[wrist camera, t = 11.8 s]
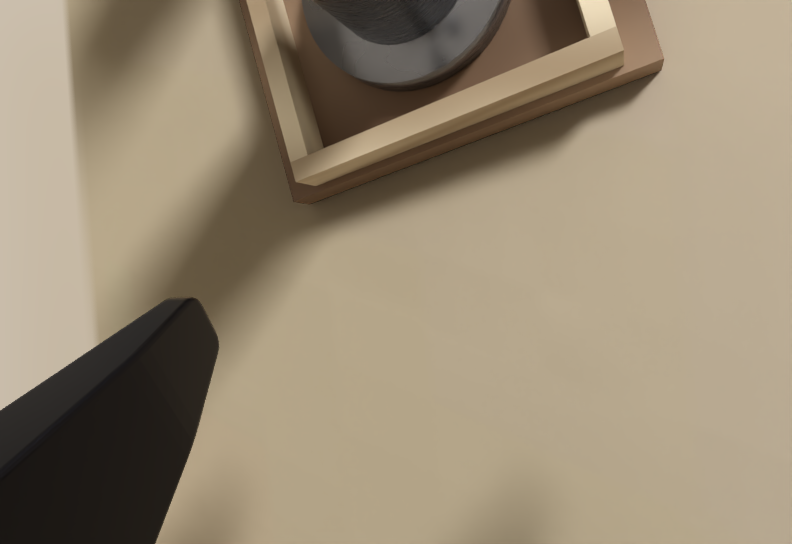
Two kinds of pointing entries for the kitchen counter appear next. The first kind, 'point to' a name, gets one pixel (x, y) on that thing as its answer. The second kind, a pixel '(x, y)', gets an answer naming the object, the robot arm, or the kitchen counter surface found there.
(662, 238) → the kitchen counter surface
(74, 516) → the robot arm
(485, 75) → the pin board
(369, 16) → the grey cylindrical piece
